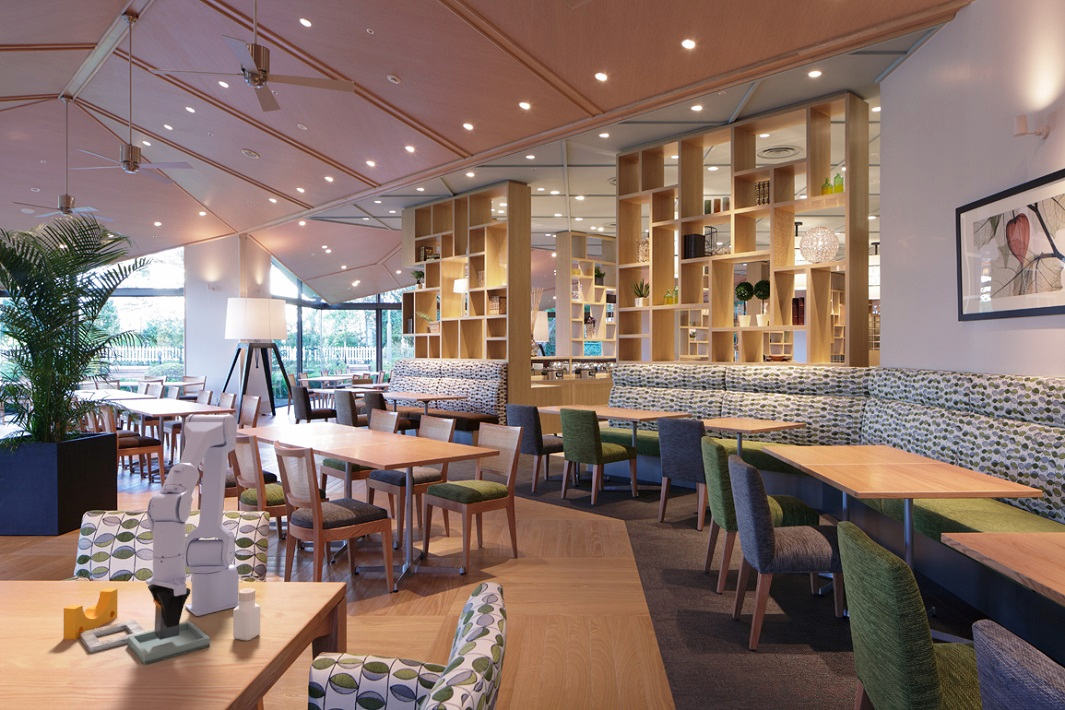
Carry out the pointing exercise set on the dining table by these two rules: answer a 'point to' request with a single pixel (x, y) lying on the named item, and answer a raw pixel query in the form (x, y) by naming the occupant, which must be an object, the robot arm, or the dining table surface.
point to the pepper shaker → (246, 616)
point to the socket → (96, 645)
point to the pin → (163, 623)
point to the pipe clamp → (90, 614)
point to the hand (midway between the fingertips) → (168, 622)
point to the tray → (168, 643)
